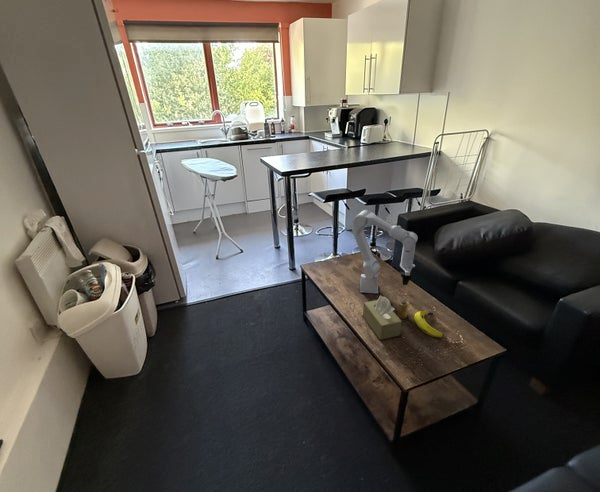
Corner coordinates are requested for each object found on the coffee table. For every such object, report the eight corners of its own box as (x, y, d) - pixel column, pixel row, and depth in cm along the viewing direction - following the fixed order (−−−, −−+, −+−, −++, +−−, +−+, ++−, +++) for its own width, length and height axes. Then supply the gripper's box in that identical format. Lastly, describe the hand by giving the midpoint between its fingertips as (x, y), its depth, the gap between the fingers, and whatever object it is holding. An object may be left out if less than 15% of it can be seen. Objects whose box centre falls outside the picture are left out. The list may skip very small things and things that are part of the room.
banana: (436, 334, 135) (459, 327, 142) (407, 311, 148) (429, 306, 155) (433, 343, 137) (455, 335, 144) (404, 319, 150) (426, 313, 157)
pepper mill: (397, 318, 152) (399, 303, 148) (396, 312, 156) (398, 298, 152) (407, 319, 152) (409, 304, 147) (406, 313, 155) (408, 298, 151)
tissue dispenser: (400, 336, 141) (405, 307, 133) (380, 340, 139) (383, 311, 131) (380, 311, 157) (383, 284, 149) (362, 315, 155) (364, 288, 147)
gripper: (418, 264, 149) (414, 288, 155) (414, 250, 161) (410, 274, 168) (402, 263, 150) (399, 287, 156) (399, 250, 162) (396, 273, 169)
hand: (404, 280), depth 162 cm, fingers open, 7 cm apart
